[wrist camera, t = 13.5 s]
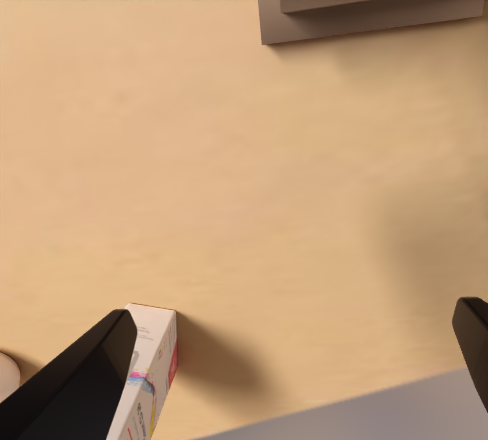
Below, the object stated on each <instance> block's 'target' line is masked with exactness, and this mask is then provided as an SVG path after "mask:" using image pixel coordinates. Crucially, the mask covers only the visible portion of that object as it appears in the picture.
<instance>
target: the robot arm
mask: <svg viewBox="0 0 488 440" xmlns="http://www.w3.org/2000/svg"><path fill="white" fill-rule="evenodd" d="M452 325H453V329H454V332H455V335H456V337H457V340H458V343H459V345H460V348H461V351H462V353H463V356H464V359H465V362H466V364H467V367H468V370H469V372H470V375H471V378H472V380H473V383H474V385H475V388H476V390H477V392H478V394H479V396H480V398H481V400H482V402H483V404H484V406H485V408H486V410H487V413H488V303H487V302H485V301H483V300H482V299H480V298H478V297H461V298H459V299H458V300H457V303H456V307H455V311H454V315H453V319H452ZM137 333H138V332H137V326H136V324H135V322H134V320H133V317H132V315H131V313H130V311H129V310H128V309H115V310H113V311H112V312H110V313H109V314H108V315H107V316H105V317H104V318H103V319H102V320H101V321H99V322H98V323H97V324H96V325H94V326H93V327H92V328H91V329H90V330H88V331H87V332H86V333H85V334H84V335H82V336H81V337H80V338H79V339H77V340H76V341H75V342H74V343H73V344H71V345H70V346H69V347H68V348H67V349H65V350H64V351H63V352H62V353H60V354H59V355H58V356H57V357H56V358H54V359H53V360H52V361H51V362H49V363H48V364H47V365H46V366H45V367H43V368H42V369H41V370H40V371H39V372H37V373H36V374H35V375H34V376H32V377H31V378H30V379H29V380H28V381H26V382H25V383H24V384H23V385H22V386H20V387H19V388H18V389H17V390H15V391H14V392H13V393H12V394H11V395H9V396H8V397H7V398H6V399H4V400H3V401H2V402H1V403H0V440H106V439H107V436H108V433H109V430H110V427H111V425H112V422H113V419H114V416H115V413H116V410H117V407H118V405H119V402H120V399H121V396H122V393H123V390H124V387H125V383H126V380H127V376H128V372H129V368H130V363H131V359H132V355H133V351H134V347H135V343H136V339H137Z"/></svg>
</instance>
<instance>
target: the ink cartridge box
mask: <svg viewBox="0 0 488 440" xmlns="http://www.w3.org/2000/svg"><path fill="white" fill-rule="evenodd" d="M124 309H128V310H129V311H130V313H131V315H132V317H133V320H134V322H135V324H136V326H137V332H138V333H137V339H136V343H135V347H134V351H133V355H132V359H131V363H130V368H129V372H128V376H127V380H126V383H125V387H124V390H123V393H122V396H121V399H120V402H119V405H118V407H117V410H116V413H115V416H114V419H113V422H112V425H111V427H110V430H109V433H108V436H107V439H106V440H151V437H152V435H153V432H154V429H155V427H156V424H157V421H158V418H159V416H160V413H161V410H162V408H163V405H164V402H165V399H166V397H167V394H168V392H169V389H170V386H171V383H172V381H173V378H174V375H175V372H176V370H177V367H178V363H177V332H176V311H175V310H168V309H162V308H156V307H150V306H144V305H138V304H132V303H128V304H127V305H126V307H125V308H124Z"/></svg>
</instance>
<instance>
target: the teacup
mask: <svg viewBox="0 0 488 440" xmlns="http://www.w3.org/2000/svg"><path fill="white" fill-rule="evenodd" d="M19 383H20V371H19V369H18V366H17V364H16V363H15V361H14V360H12V359H11V358H10V357H9V356H7V355H5V354H3V353H1V352H0V403H1V402H2V401H3V400H4V399H6V398H7V397H8V396H9V395H11V394H12V393H13V392H14V391H15V390H17V389H18V386H19Z"/></svg>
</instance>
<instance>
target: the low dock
mask: <svg viewBox="0 0 488 440" xmlns="http://www.w3.org/2000/svg"><path fill="white" fill-rule="evenodd" d="M258 4H259V16H260V28H261V40H262V45H265V44H273V43H280V42H288V41H296V40H303V39H311V38H319V37H326V36H334V35H341V34H349V33H357V32H364V31H372V30H380V29H387V28H395V27H402V26H410V25H418V24H425V23H433V22H441V21H448V20H456V19H463V18H471V17H479V16H482V13H483V9H484V4H485V0H258Z"/></svg>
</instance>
